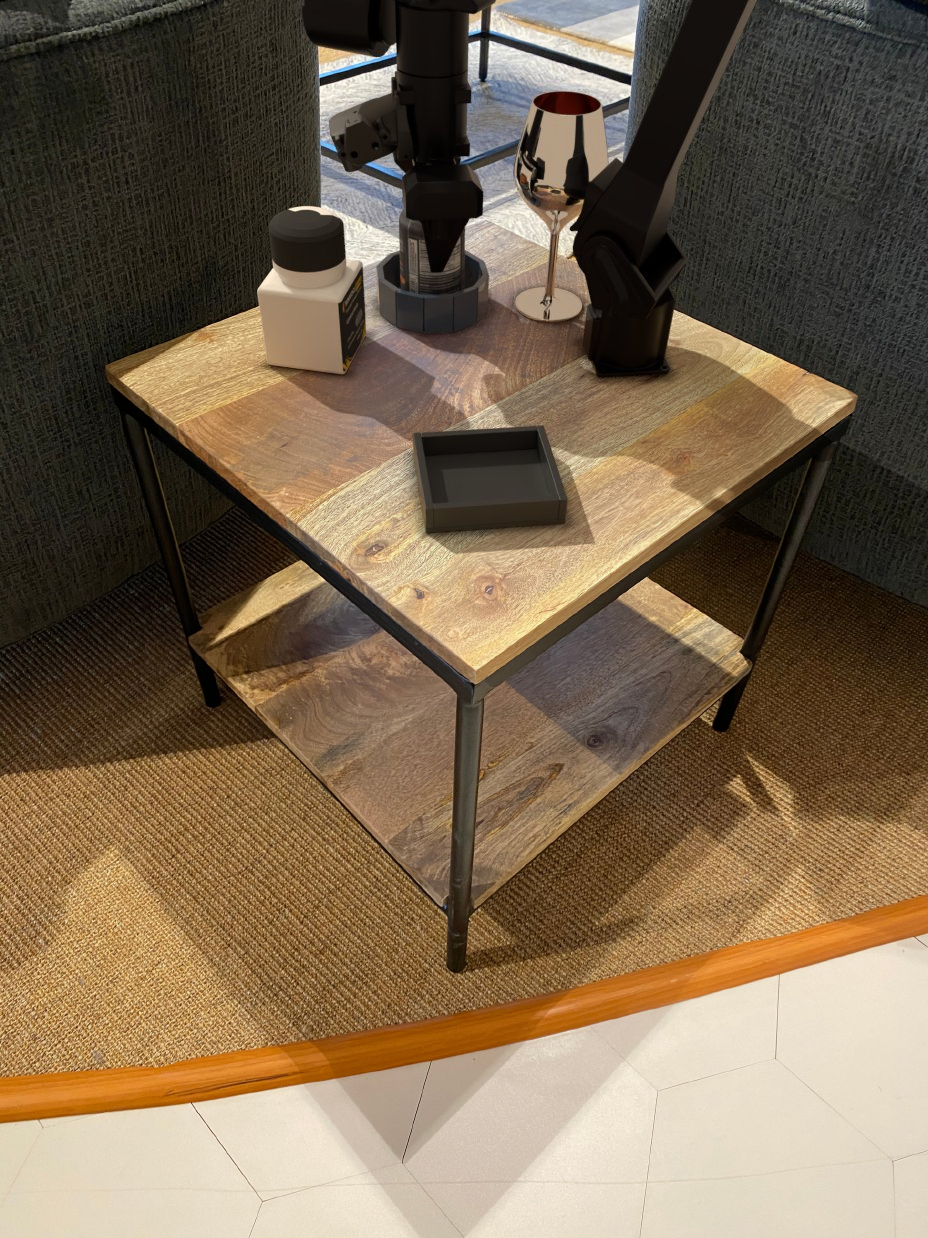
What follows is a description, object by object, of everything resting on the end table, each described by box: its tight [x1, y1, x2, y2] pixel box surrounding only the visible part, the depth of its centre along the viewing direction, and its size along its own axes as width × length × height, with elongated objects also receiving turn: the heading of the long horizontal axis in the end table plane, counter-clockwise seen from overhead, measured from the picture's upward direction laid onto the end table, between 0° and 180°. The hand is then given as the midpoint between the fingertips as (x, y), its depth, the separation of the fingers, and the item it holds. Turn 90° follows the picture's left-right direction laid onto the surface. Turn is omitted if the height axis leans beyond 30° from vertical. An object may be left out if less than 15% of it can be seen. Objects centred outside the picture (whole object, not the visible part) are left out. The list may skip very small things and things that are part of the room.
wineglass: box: [512, 90, 609, 323], centre depth 87 cm, size 8×8×18 cm
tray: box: [412, 424, 569, 534], centre depth 73 cm, size 10×9×2 cm
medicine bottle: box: [256, 205, 367, 375], centre depth 83 cm, size 7×7×12 cm
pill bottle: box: [398, 208, 466, 295], centre depth 89 cm, size 6×6×11 cm
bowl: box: [375, 249, 490, 334], centre depth 92 cm, size 10×10×4 cm
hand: (432, 254), depth 90 cm, fingers open, 6 cm apart
